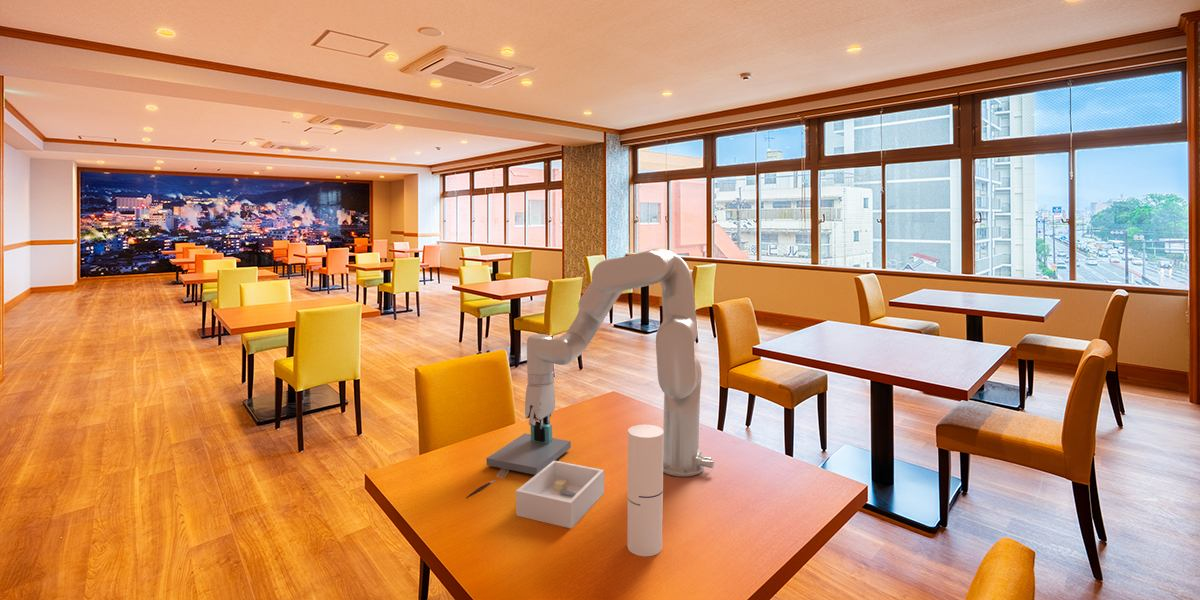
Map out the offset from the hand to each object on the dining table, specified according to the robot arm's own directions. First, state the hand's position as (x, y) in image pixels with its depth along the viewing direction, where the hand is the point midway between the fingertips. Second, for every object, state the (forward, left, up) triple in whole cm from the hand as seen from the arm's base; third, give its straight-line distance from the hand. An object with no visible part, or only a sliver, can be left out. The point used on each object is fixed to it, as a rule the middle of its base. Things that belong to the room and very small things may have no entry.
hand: (541, 439), depth 169 cm
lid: (0, +7, -3) cm, 7 cm away
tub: (-20, +26, -4) cm, 33 cm away
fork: (+2, +25, -4) cm, 25 cm away
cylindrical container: (-44, +35, -4) cm, 56 cm away
